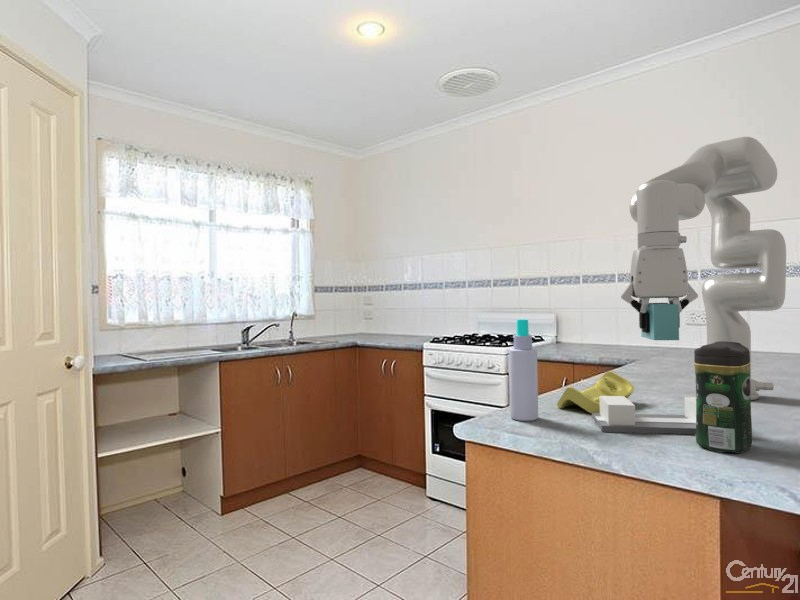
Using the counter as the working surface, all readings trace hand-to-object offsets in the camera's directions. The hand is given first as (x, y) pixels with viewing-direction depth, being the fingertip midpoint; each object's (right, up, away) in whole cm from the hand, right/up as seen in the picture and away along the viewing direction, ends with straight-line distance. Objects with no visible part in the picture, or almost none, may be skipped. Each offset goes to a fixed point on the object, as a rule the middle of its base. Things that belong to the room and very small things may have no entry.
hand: (659, 331), depth 103 cm
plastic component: (-5, -20, +19) cm, 28 cm away
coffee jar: (+4, -20, -14) cm, 24 cm away
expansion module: (0, -1, 0) cm, 1 cm away
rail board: (0, -19, 0) cm, 19 cm away
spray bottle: (-25, -20, +9) cm, 34 cm away
